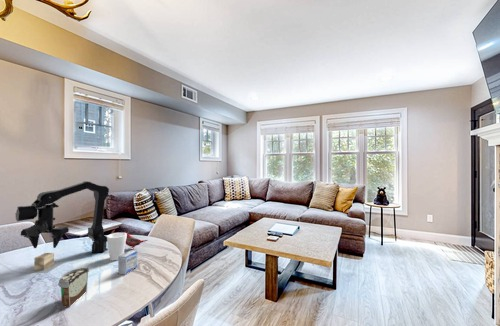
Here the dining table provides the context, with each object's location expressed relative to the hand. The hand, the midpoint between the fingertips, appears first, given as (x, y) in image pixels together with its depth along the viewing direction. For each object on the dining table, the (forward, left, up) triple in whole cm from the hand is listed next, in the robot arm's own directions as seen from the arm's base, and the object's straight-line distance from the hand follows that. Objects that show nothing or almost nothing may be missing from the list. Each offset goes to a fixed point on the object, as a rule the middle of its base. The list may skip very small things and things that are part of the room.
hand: (45, 247), depth 111 cm
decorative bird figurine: (-34, -23, -10) cm, 42 cm away
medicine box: (-43, +5, -10) cm, 44 cm away
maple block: (0, 0, -10) cm, 10 cm away
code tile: (0, 0, -10) cm, 10 cm away
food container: (-32, +28, -10) cm, 44 cm away
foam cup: (-30, -10, -10) cm, 33 cm away
